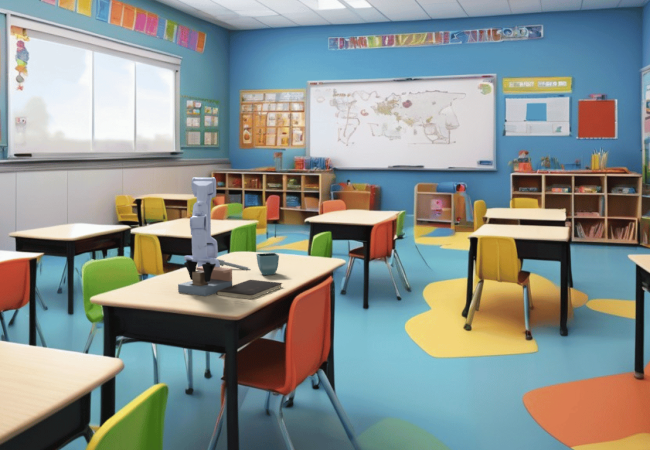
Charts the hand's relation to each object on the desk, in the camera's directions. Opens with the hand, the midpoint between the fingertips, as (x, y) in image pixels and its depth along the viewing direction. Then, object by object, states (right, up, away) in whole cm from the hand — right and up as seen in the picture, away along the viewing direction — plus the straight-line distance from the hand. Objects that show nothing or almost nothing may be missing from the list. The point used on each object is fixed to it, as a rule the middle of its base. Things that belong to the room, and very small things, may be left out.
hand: (200, 280), depth 236 cm
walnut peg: (0, -4, 0) cm, 4 cm away
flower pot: (+23, -1, +35) cm, 42 cm away
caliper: (+4, +1, +48) cm, 48 cm away
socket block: (+2, -4, +3) cm, 5 cm away
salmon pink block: (+4, -1, +7) cm, 8 cm away
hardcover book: (+20, -5, +2) cm, 20 cm away
